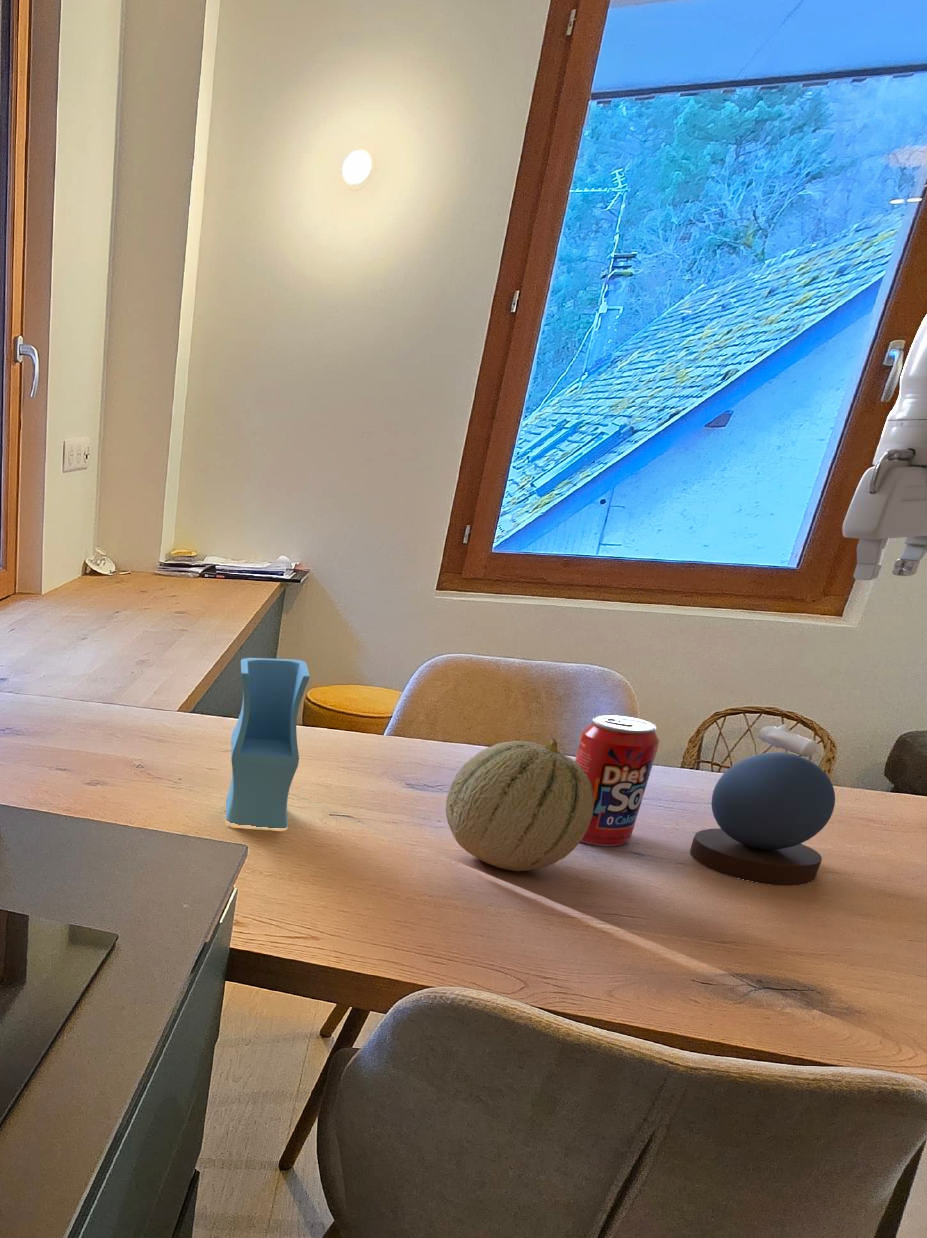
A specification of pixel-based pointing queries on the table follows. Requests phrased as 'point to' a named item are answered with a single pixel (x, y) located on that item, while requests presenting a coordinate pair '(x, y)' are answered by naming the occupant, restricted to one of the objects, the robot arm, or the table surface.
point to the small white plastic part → (788, 740)
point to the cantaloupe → (520, 805)
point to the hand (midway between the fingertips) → (883, 577)
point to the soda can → (616, 774)
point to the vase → (265, 741)
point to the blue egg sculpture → (767, 820)
